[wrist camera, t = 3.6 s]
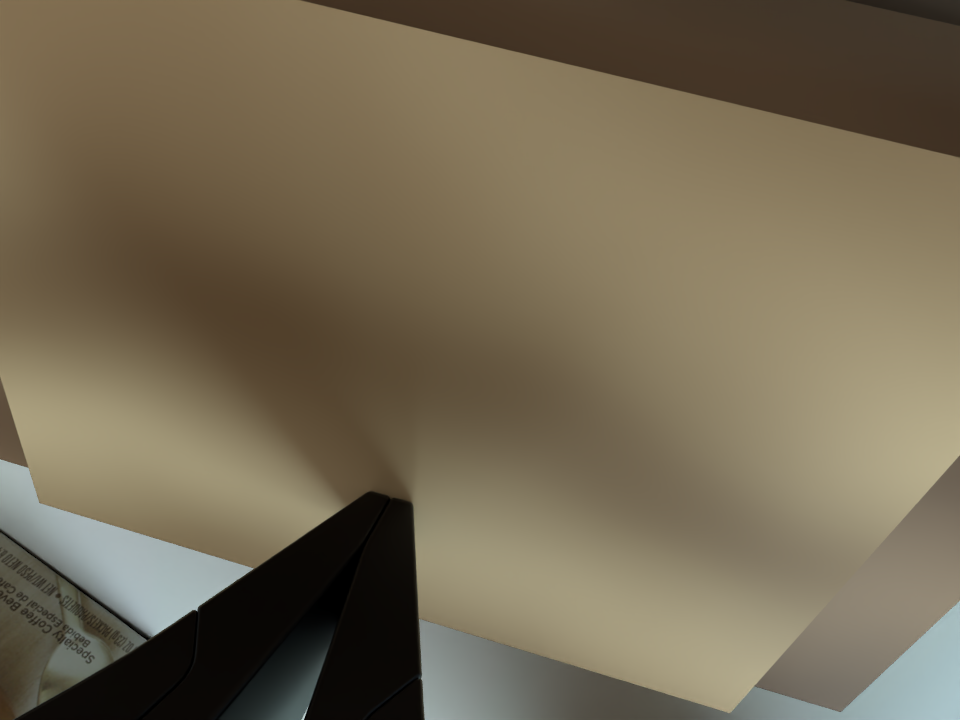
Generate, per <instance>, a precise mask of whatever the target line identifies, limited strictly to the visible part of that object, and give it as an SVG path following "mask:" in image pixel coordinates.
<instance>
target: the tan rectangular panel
mask: <svg viewBox="0 0 960 720" xmlns="http://www.w3.org/2000/svg"><path fill="white" fill-rule="evenodd" d="M0 378H1V381H2V384H3V387H4V390H5V394H6V397H7V400H8V403H9V407H10V410H11V413H12V416H13V419H14V423H15V426H16V429H17V432H18V435H19V439H20V442H21V445H22V448H23V451H24V455H25V458H26V461H27V464H28V467H29V471H30V474H31V477H32V480H33V484H34V487H35V490H36V493H37V496H38V500H39V503H41V504H45V505H48V506H51V507H55V508H58V509H61V510H64V511H68V512H71V513H74V514H78V515H81V516H84V517H87V518H91V519H94V520H97V521H100V522H104V523H107V524H110V525H114V526H117V527H120V528H123V529H127V530H130V531H133V532H137V533H140V534H143V535H146V536H150V537H153V538H156V539H160V540H163V541H166V542H169V543H173V544H176V545H179V546H183V547H186V548H189V549H192V550H196V551H199V552H202V553H205V554H209V555H212V556H215V557H219V558H222V559H225V560H228V561H232V562H235V563H238V564H242V565H245V566H248V567H251V568H256V567H257V566H259V565H260V564H262V563H263V562H265V561H266V560H268V559H269V558H271V557H272V556H274V555H275V554H277V553H278V552H280V551H281V550H282V549H284V548H285V547H287V546H288V545H290V544H291V543H293V542H294V541H296V540H297V539H299V538H300V537H302V536H303V535H305V534H306V533H307V532H309V531H310V530H312V529H313V528H315V527H316V526H318V525H319V524H321V523H322V522H324V521H325V520H327V519H328V518H329V517H331V516H332V515H334V514H335V513H337V512H338V511H340V510H341V509H343V508H344V507H346V506H347V505H349V504H350V503H352V502H353V501H354V500H356V499H357V498H359V497H360V496H362V495H363V494H365V493H366V492H368V491H374V492H377V493H381V494H384V495H388V496H389V497H390V500H391V499H392V498H398V499H402V500H405V501H409V502H411V503H412V504H413V507H414V527H415V548H416V568H417V588H418V608H419V619H422V620H425V621H429V622H432V623H435V624H439V625H442V626H445V627H448V628H452V629H455V630H458V631H461V632H465V633H468V634H471V635H475V636H478V637H481V638H484V639H488V640H491V641H494V642H498V643H501V644H504V645H507V646H511V647H514V648H517V649H521V650H524V651H527V652H530V653H534V654H537V655H540V656H544V657H547V658H550V659H553V660H557V661H560V662H563V663H567V664H570V665H573V666H576V667H580V668H583V669H586V670H589V671H593V672H596V673H599V674H603V675H606V676H609V677H612V678H616V679H619V680H622V681H626V682H629V683H632V684H635V685H639V686H642V687H645V688H649V689H652V690H655V691H658V692H662V693H665V694H668V695H672V696H675V697H678V698H681V699H685V700H688V701H691V702H694V703H698V704H701V705H704V706H708V707H711V708H714V709H717V710H721V711H724V712H727V713H731V712H732V711H733V709H734V708H735V707H736V706H737V705H738V704H739V703H740V702H741V700H742V699H743V698H744V697H745V696H746V695H747V694H748V693H749V691H750V690H751V689H752V688H753V687H754V686H755V685H756V684H757V683H758V681H759V680H760V679H761V678H762V677H763V676H764V675H765V674H766V672H767V671H768V670H769V669H770V668H771V667H772V666H773V665H774V663H775V662H776V661H777V660H778V659H779V658H780V657H781V656H782V654H783V653H784V652H785V651H786V650H787V649H788V648H789V647H790V645H791V644H792V643H793V642H794V641H795V640H796V639H797V638H798V636H799V635H800V634H801V633H802V632H803V631H804V630H805V629H806V627H807V626H808V625H809V624H810V623H811V622H812V621H813V620H814V618H815V617H816V616H817V615H818V614H819V613H820V612H821V611H822V609H823V608H824V607H825V606H826V605H827V604H828V603H829V602H830V600H831V599H832V598H833V597H834V596H835V595H836V594H837V593H838V592H839V590H840V589H841V588H842V587H843V586H844V585H845V584H846V583H847V581H848V580H849V579H850V578H851V577H852V576H853V575H854V574H855V572H856V571H857V570H858V569H859V568H860V567H861V566H862V565H863V563H864V562H865V561H866V560H867V559H868V558H869V557H870V556H871V554H872V553H873V552H874V551H875V550H876V549H877V548H878V547H879V545H880V544H881V543H882V542H883V541H884V540H885V539H886V538H887V536H888V535H889V534H890V533H891V532H892V531H893V530H894V529H895V527H896V526H897V525H898V524H899V523H900V522H901V521H902V520H903V518H904V517H905V516H906V515H907V514H908V513H909V512H910V511H911V510H912V508H913V507H914V506H915V505H916V504H917V503H918V502H919V501H920V499H921V498H922V497H923V496H924V495H925V494H926V493H927V492H928V490H929V489H930V488H931V487H932V486H933V485H934V484H935V483H936V481H937V480H938V479H939V478H940V477H941V476H942V475H943V474H944V472H945V471H946V470H947V469H948V468H949V467H950V466H951V465H952V463H953V462H954V461H955V460H956V459H957V458H958V457H959V456H960V158H959V157H955V156H951V155H946V154H942V153H938V152H934V151H930V150H926V149H921V148H917V147H913V146H909V145H905V144H900V143H896V142H892V141H888V140H884V139H879V138H875V137H871V136H867V135H863V134H858V133H854V132H850V131H846V130H842V129H837V128H833V127H829V126H825V125H821V124H817V123H812V122H808V121H804V120H800V119H796V118H791V117H787V116H783V115H779V114H775V113H770V112H766V111H762V110H758V109H754V108H749V107H745V106H741V105H737V104H733V103H728V102H724V101H720V100H716V99H712V98H707V97H703V96H699V95H695V94H691V93H687V92H682V91H678V90H674V89H670V88H666V87H661V86H657V85H653V84H649V83H645V82H640V81H636V80H632V79H628V78H624V77H619V76H615V75H611V74H607V73H603V72H598V71H594V70H590V69H586V68H582V67H578V66H573V65H569V64H565V63H561V62H557V61H552V60H548V59H544V58H540V57H536V56H531V55H527V54H523V53H519V52H515V51H510V50H506V49H502V48H498V47H494V46H489V45H485V44H481V43H477V42H473V41H468V40H464V39H460V38H456V37H452V36H448V35H443V34H439V33H435V32H431V31H427V30H422V29H418V28H414V27H410V26H406V25H401V24H397V23H393V22H389V21H385V20H380V19H376V18H372V17H368V16H364V15H359V14H355V13H351V12H347V11H343V10H338V9H334V8H330V7H326V6H322V5H318V4H313V3H309V2H305V1H301V0H0Z"/></svg>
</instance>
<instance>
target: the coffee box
mask: <svg viewBox="0 0 960 720" xmlns="http://www.w3.org/2000/svg"><path fill="white" fill-rule="evenodd" d="M146 641H147V640H146V639H145V638H143V637H142V636H140V635H139V634H138V633H136V632H135V631H134V630H132V629H131V628H130V627H128V626H127V625H126V624H124V623H123V622H122V621H120V620H119V619H118V618H116V617H115V616H114V615H112V614H111V613H110V612H108V611H107V610H106V609H104V608H103V607H101V606H100V605H99V604H97V603H96V602H95V601H93V600H92V599H91V598H89V597H88V596H86V595H85V594H84V593H82V592H81V591H80V590H78V589H77V588H76V587H74V586H73V585H71V584H70V583H69V582H67V581H66V580H65V579H63V578H62V577H61V576H59V575H58V574H57V573H55V572H54V571H53V570H51V569H50V568H48V567H47V566H46V565H44V564H43V563H42V562H40V561H39V560H37V559H36V558H35V557H33V556H32V555H31V554H29V553H28V552H26V551H25V550H24V549H22V548H21V547H20V546H18V545H17V544H16V543H14V542H13V541H12V540H10V539H9V538H7V537H6V536H5V535H3V534H2V533H1V532H0V720H13V719H15V718H17V717H18V716H20V715H22V714H24V713H25V712H27V711H29V710H31V709H32V708H34V707H36V706H38V705H40V704H41V703H43V702H45V701H47V700H48V699H50V698H52V697H54V696H55V695H57V694H59V693H61V692H62V691H64V690H66V689H68V688H69V687H71V686H73V685H75V684H76V683H78V682H80V681H82V680H83V679H85V678H87V677H88V676H90V675H92V674H93V673H95V672H97V671H99V670H100V669H102V668H104V667H105V666H107V665H109V664H110V663H112V662H114V661H115V660H117V659H119V658H120V657H122V656H124V655H125V654H127V653H129V652H130V651H132V650H134V649H135V648H137V647H138V646H140V645H141V644H143V643H144V642H146Z"/></svg>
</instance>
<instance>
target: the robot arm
mask: <svg viewBox="0 0 960 720" xmlns="http://www.w3.org/2000/svg"><path fill="white" fill-rule="evenodd" d="M421 676H422V669H421V649H420V629H419V608H418V588H417V568H416V548H415V527H414V507H413V504H412V503H411V502H409V501H405V500H402V499H398V498H392V499H391V500H390V497H389V496H388V495H384V494H381V493H377V492H374V491H368V492H366V493H365V494H363V495H362V496H360V497H359V498H357V499H356V500H354V501H353V502H352V503H350V504H349V505H347V506H346V507H344V508H343V509H341V510H340V511H338V512H337V513H335V514H334V515H332V516H331V517H329V518H328V519H327V520H325V521H324V522H322V523H321V524H319V525H318V526H316V527H315V528H313V529H312V530H310V531H309V532H307V533H306V534H305V535H303V536H302V537H300V538H299V539H297V540H296V541H294V542H293V543H291V544H290V545H288V546H287V547H285V548H284V549H282V550H281V551H280V552H278V553H277V554H275V555H274V556H272V557H271V558H269V559H268V560H266V561H265V562H263V563H262V564H260V565H259V566H257V567H256V568H255V569H253V570H252V571H250V572H249V573H247V574H246V575H244V576H243V577H241V578H240V579H238V580H237V581H235V582H234V583H233V584H231V585H230V586H228V587H227V588H225V589H224V590H222V591H221V592H219V593H218V594H216V595H215V596H213V597H212V598H210V599H209V600H208V601H206V602H205V603H203V604H202V605H200V606H199V607H198V611H196V610H192V611H191V612H189V613H188V614H187V615H185V616H184V617H182V618H181V619H179V620H178V621H176V622H175V623H173V624H172V625H170V626H169V627H167V628H166V629H164V630H163V631H161V632H160V633H158V634H157V635H155V636H154V637H152V638H150V639H149V640H147V641H146V642H144V643H143V644H141V645H140V646H138V647H137V648H135V649H134V650H132V651H130V652H129V653H127V654H125V655H124V656H122V657H120V658H119V659H117V660H115V661H114V662H112V663H110V664H109V665H107V666H105V667H104V668H102V669H100V670H99V671H97V672H95V673H93V674H92V675H90V676H88V677H87V678H85V679H83V680H82V681H80V682H78V683H76V684H75V685H73V686H71V687H69V688H68V689H66V690H64V691H62V692H61V693H59V694H57V695H55V696H54V697H52V698H50V699H48V700H47V701H45V702H43V703H41V704H40V705H38V706H36V707H34V708H32V709H31V710H29V711H27V712H25V713H24V714H22V715H20V716H18V717H17V718H15V719H13V720H301V719H302V717H303V715H304V713H305V711H306V709H307V707H308V706H309V707H308V710H307V713H306V716H305V719H304V720H425V718H424V705H423V684H422V680H421Z"/></svg>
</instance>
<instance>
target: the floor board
mask: <svg viewBox="0 0 960 720" xmlns="http://www.w3.org/2000/svg"><path fill="white" fill-rule="evenodd" d="M301 1H305V2H309V3H313V4H318V5H322V6H326V7H330V8H334V9H338V10H343V11H347V12H351V13H355V14H359V15H364V16H368V17H372V18H376V19H380V20H385V21H389V22H393V23H397V24H401V25H406V26H410V27H414V28H418V29H422V30H427V31H431V32H435V33H439V34H443V35H448V36H452V37H456V38H460V39H464V40H468V41H473V42H477V43H481V44H485V45H489V46H494V47H498V48H502V49H506V50H510V51H515V52H519V53H523V54H527V55H531V56H536V57H540V58H544V59H548V60H552V61H557V62H561V63H565V64H569V65H573V66H578V67H582V68H586V69H590V70H594V71H598V72H603V73H607V74H611V75H615V76H619V77H624V78H628V79H632V80H636V81H640V82H645V83H649V84H653V85H657V86H661V87H666V88H670V89H674V90H678V91H682V92H687V93H691V94H695V95H699V96H703V97H707V98H712V99H716V100H720V101H724V102H728V103H733V104H737V105H741V106H745V107H749V108H754V109H758V110H762V111H766V112H770V113H775V114H779V115H783V116H787V117H791V118H796V119H800V120H804V121H808V122H812V123H817V124H821V125H825V126H829V127H833V128H837V129H842V130H846V131H850V132H854V133H858V134H863V135H867V136H871V137H875V138H879V139H884V140H888V141H892V142H896V143H900V144H905V145H909V146H913V147H917V148H921V149H926V150H930V151H934V152H938V153H942V154H946V155H951V156H955V157H959V158H960V0H301ZM0 459H1V460H5V461H8V462H11V463H15V464H18V465H21V466H24V467H28V464H27V461H26V458H25V455H24V451H23V448H22V445H21V442H20V439H19V435H18V432H17V429H16V426H15V423H14V419H13V416H12V413H11V410H10V407H9V403H8V400H7V397H6V394H5V390H4V387H3V384H2V381H1V378H0ZM28 468H29V467H28ZM959 601H960V456H959V457H958V458H957V459H956V460H955V461H954V462H953V463H952V465H951V466H950V467H949V468H948V469H947V470H946V471H945V472H944V474H943V475H942V476H941V477H940V478H939V479H938V480H937V481H936V483H935V484H934V485H933V486H932V487H931V488H930V489H929V490H928V492H927V493H926V494H925V495H924V496H923V497H922V498H921V499H920V501H919V502H918V503H917V504H916V505H915V506H914V507H913V508H912V510H911V511H910V512H909V513H908V514H907V515H906V516H905V517H904V518H903V520H902V521H901V522H900V523H899V524H898V525H897V526H896V527H895V529H894V530H893V531H892V532H891V533H890V534H889V535H888V536H887V538H886V539H885V540H884V541H883V542H882V543H881V544H880V545H879V547H878V548H877V549H876V550H875V551H874V552H873V553H872V554H871V556H870V557H869V558H868V559H867V560H866V561H865V562H864V563H863V565H862V566H861V567H860V568H859V569H858V570H857V571H856V572H855V574H854V575H853V576H852V577H851V578H850V579H849V580H848V581H847V583H846V584H845V585H844V586H843V587H842V588H841V589H840V590H839V592H838V593H837V594H836V595H835V596H834V597H833V598H832V599H831V600H830V602H829V603H828V604H827V605H826V606H825V607H824V608H823V609H822V611H821V612H820V613H819V614H818V615H817V616H816V617H815V618H814V620H813V621H812V622H811V623H810V624H809V625H808V626H807V627H806V629H805V630H804V631H803V632H802V633H801V634H800V635H799V636H798V638H797V639H796V640H795V641H794V642H793V643H792V644H791V645H790V647H789V648H788V649H787V650H786V651H785V652H784V653H783V654H782V656H781V657H780V658H779V659H778V660H777V661H776V662H775V663H774V665H773V666H772V667H771V668H770V669H769V670H768V671H767V672H766V674H765V675H764V676H763V677H762V678H761V679H760V680H759V681H758V683H757V684H756V685H755V687H759V688H762V689H765V690H769V691H772V692H775V693H779V694H782V695H785V696H789V697H792V698H795V699H799V700H802V701H805V702H809V703H812V704H815V705H819V706H822V707H825V708H829V709H832V710H835V711H839V712H841V711H842V710H843V709H844V708H846V707H847V706H848V705H849V704H850V703H851V702H852V701H853V700H854V699H855V698H856V697H857V696H858V695H859V694H860V693H862V692H863V691H864V690H865V689H866V688H867V687H868V686H869V685H870V684H871V683H872V682H873V681H874V680H875V679H877V678H878V677H879V676H880V675H881V674H882V673H883V672H884V671H885V670H886V669H887V668H888V667H889V666H890V665H891V664H893V663H894V662H895V661H896V660H897V659H898V658H899V657H900V656H901V655H902V654H903V653H904V652H905V651H906V650H908V649H909V648H910V647H911V646H912V645H913V644H914V643H915V642H916V641H917V640H918V639H919V638H920V637H921V636H922V635H924V634H925V633H926V632H927V631H928V630H929V629H930V628H931V627H932V626H933V625H934V624H935V623H936V622H937V621H938V620H940V619H941V618H942V617H943V616H944V615H945V614H946V613H947V612H948V611H949V610H950V609H951V608H952V607H953V606H955V605H956V604H957V603H958V602H959Z"/></svg>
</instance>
